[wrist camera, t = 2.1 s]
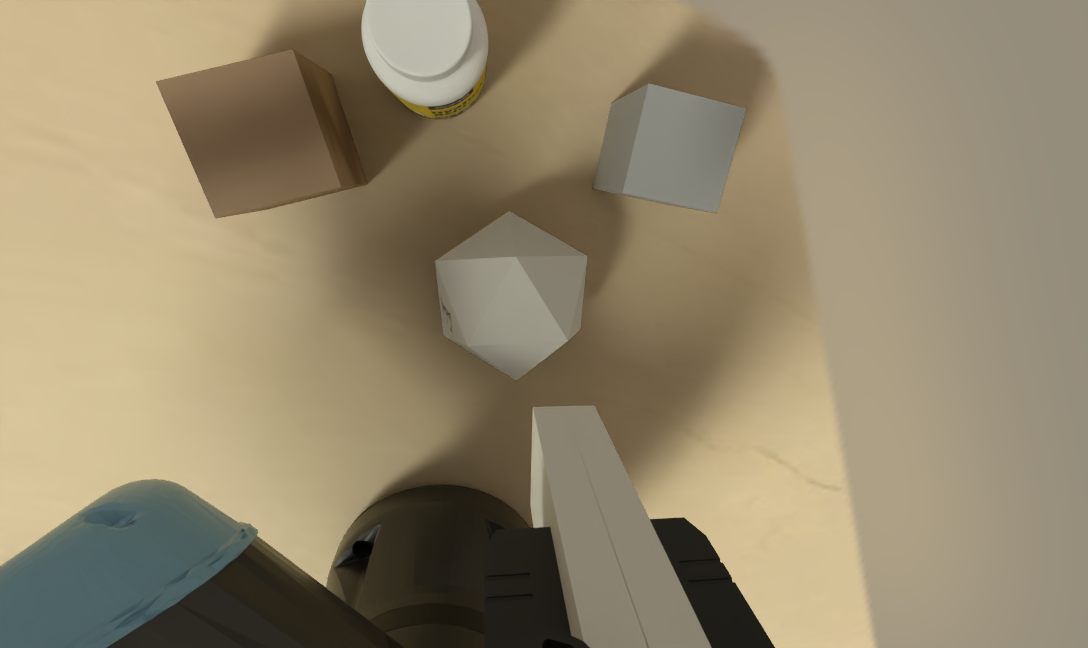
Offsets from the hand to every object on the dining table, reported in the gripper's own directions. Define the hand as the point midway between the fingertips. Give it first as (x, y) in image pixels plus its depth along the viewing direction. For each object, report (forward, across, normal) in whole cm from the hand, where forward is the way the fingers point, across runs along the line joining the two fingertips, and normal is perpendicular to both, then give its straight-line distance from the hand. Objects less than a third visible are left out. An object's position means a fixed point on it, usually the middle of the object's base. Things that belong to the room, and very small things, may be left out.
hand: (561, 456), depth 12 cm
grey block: (+21, -8, -8) cm, 24 cm away
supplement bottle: (+21, +4, -12) cm, 25 cm away
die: (+21, 0, 0) cm, 21 cm away
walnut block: (+21, +12, -8) cm, 26 cm away
